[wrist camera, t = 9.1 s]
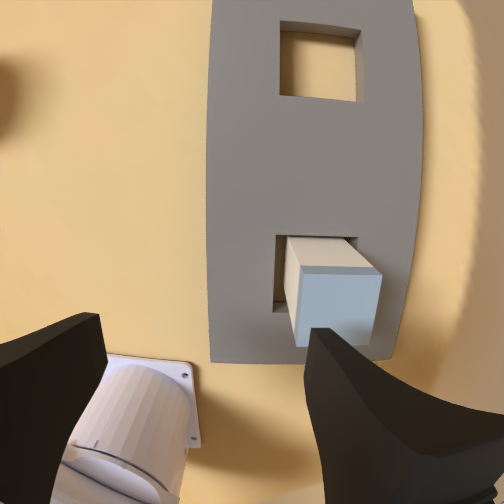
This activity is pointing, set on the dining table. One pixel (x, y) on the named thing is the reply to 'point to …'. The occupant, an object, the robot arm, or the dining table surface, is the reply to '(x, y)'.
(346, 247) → the plug
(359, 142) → the socket board
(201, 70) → the dining table surface
